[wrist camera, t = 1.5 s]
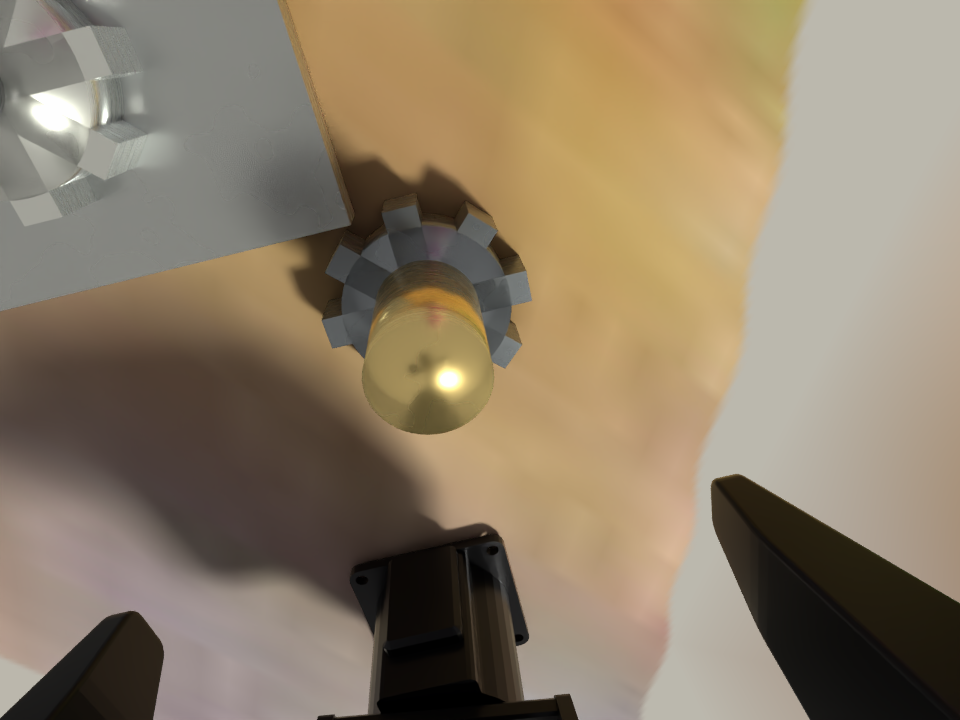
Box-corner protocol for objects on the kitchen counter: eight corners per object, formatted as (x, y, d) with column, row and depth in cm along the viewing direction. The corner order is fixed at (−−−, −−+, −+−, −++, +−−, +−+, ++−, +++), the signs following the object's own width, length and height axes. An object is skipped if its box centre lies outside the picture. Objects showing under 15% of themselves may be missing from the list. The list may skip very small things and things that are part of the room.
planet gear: (538, 352, 22) (576, 453, 16) (363, 394, 22) (344, 507, 16) (502, 171, 19) (533, 221, 13) (299, 221, 19) (250, 290, 13)
